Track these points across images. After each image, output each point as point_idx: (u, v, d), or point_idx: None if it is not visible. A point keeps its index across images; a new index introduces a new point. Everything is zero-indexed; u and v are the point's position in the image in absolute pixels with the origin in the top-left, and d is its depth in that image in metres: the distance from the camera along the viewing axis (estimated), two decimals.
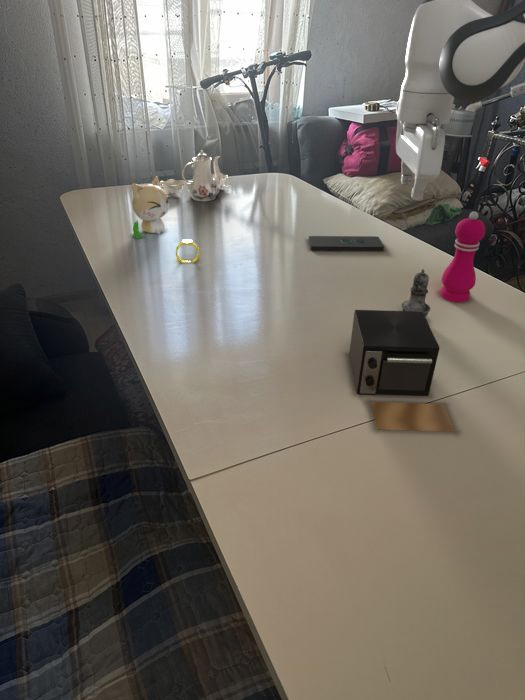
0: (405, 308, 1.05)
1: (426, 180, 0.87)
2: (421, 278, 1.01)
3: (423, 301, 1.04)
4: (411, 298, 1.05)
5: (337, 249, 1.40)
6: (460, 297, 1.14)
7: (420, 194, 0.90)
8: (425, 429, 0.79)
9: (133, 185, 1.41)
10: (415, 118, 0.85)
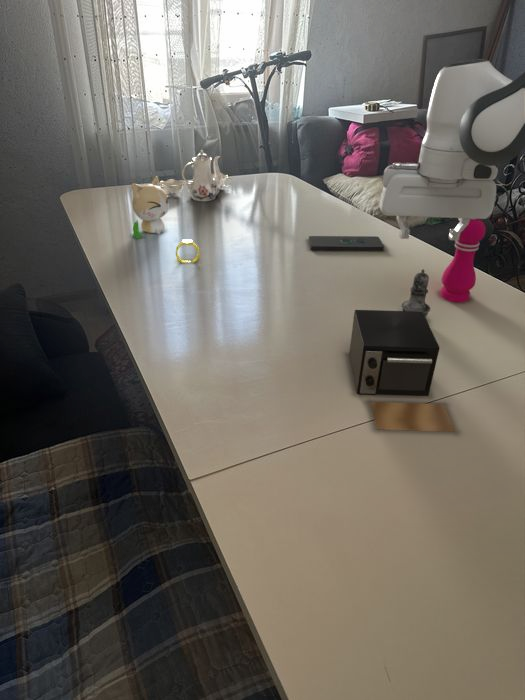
0: (405, 308, 1.05)
1: (398, 219, 0.96)
2: (421, 278, 1.01)
3: (423, 301, 1.04)
4: (411, 298, 1.05)
5: (337, 249, 1.40)
6: (460, 297, 1.14)
7: (401, 233, 0.97)
8: (425, 429, 0.79)
9: (133, 185, 1.41)
10: None
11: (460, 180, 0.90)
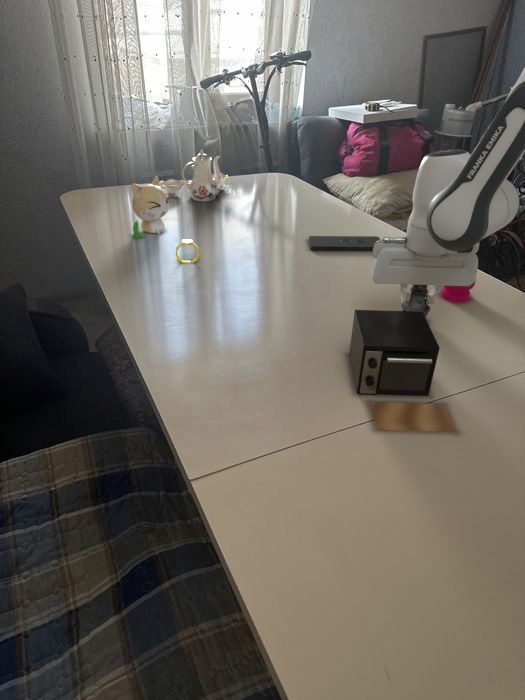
0: (405, 308, 1.05)
1: (399, 287, 1.03)
2: None
3: (423, 301, 1.04)
4: (411, 298, 1.05)
5: (337, 249, 1.40)
6: (460, 297, 1.14)
7: (402, 298, 1.05)
8: (425, 429, 0.79)
9: (133, 185, 1.41)
10: None
11: (444, 253, 0.98)
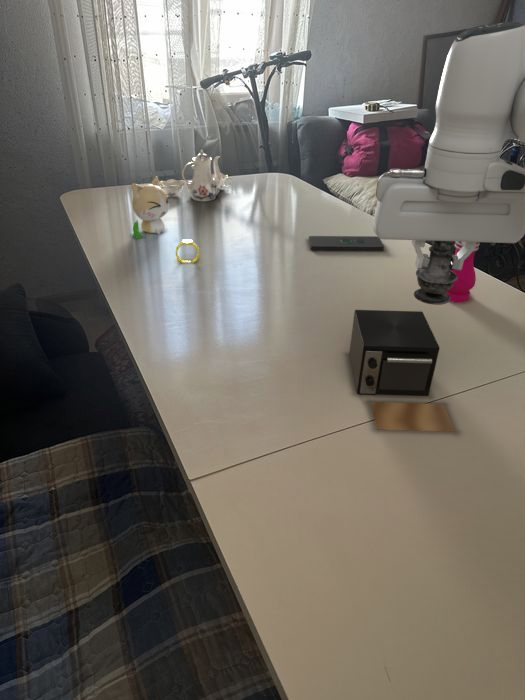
0: (421, 276, 0.74)
1: (414, 244, 0.72)
2: None
3: (447, 265, 0.73)
4: (430, 262, 0.73)
5: (337, 249, 1.40)
6: (460, 297, 1.14)
7: (418, 262, 0.73)
8: (425, 429, 0.79)
9: (133, 185, 1.41)
10: None
11: (482, 192, 0.66)
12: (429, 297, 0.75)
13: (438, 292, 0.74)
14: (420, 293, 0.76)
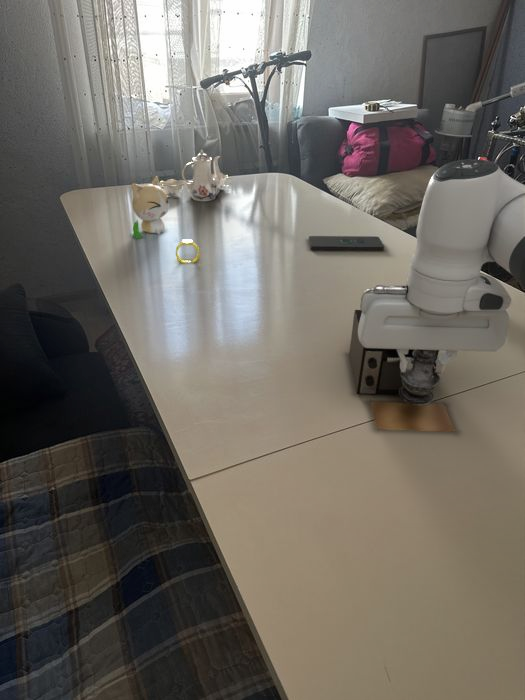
0: (405, 379, 0.76)
1: (398, 351, 0.74)
2: None
3: (430, 370, 0.75)
4: (414, 366, 0.76)
5: (337, 249, 1.40)
6: None
7: (402, 366, 0.76)
8: (425, 429, 0.79)
9: (133, 185, 1.41)
10: None
11: None
12: (414, 397, 0.78)
13: (422, 394, 0.76)
14: (405, 393, 0.79)
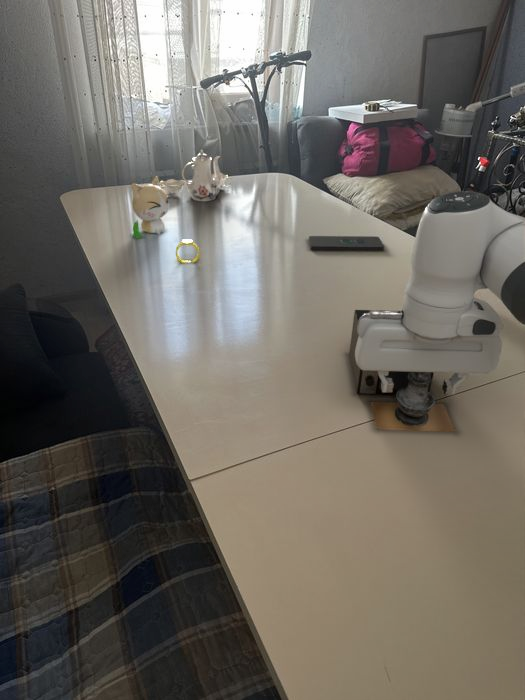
0: (401, 401, 0.79)
1: (378, 373, 0.76)
2: None
3: (425, 392, 0.78)
4: (409, 388, 0.78)
5: (337, 249, 1.40)
6: None
7: (383, 386, 0.78)
8: (425, 429, 0.79)
9: (133, 185, 1.41)
10: None
11: None
12: (409, 418, 0.80)
13: (417, 416, 0.79)
14: (400, 413, 0.81)
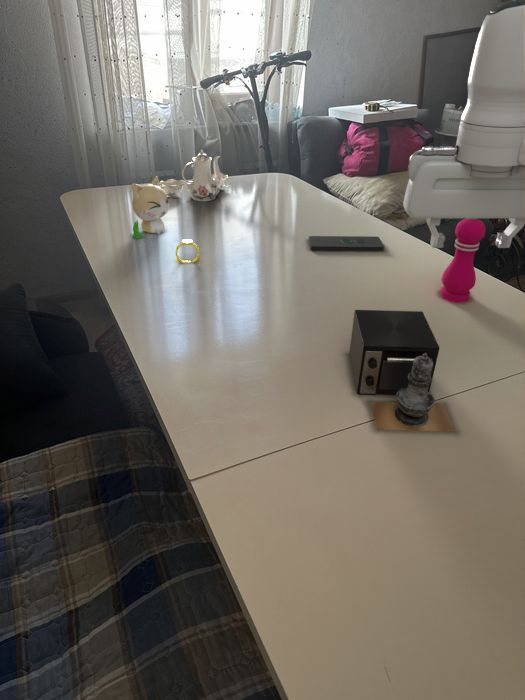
0: (401, 401, 0.79)
1: (429, 223, 0.72)
2: (423, 365, 0.75)
3: (425, 392, 0.78)
4: (409, 388, 0.78)
5: (337, 249, 1.40)
6: (460, 297, 1.14)
7: (433, 240, 0.73)
8: (425, 429, 0.79)
9: (133, 185, 1.41)
10: None
11: (515, 167, 0.66)
12: (409, 418, 0.80)
13: (417, 416, 0.79)
14: (400, 413, 0.81)
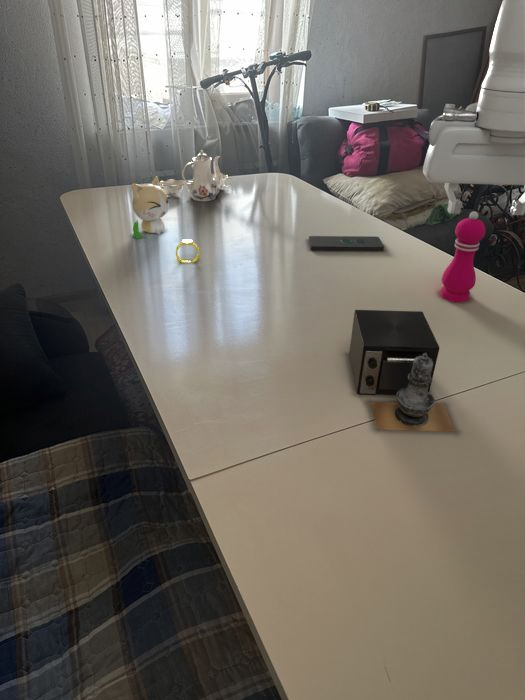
0: (401, 401, 0.79)
1: (447, 188, 0.75)
2: (423, 365, 0.75)
3: (425, 392, 0.78)
4: (409, 388, 0.78)
5: (337, 249, 1.40)
6: (460, 297, 1.14)
7: (450, 206, 0.76)
8: (425, 429, 0.79)
9: (133, 185, 1.41)
10: None
11: None
12: (409, 418, 0.80)
13: (417, 416, 0.79)
14: (400, 413, 0.81)
